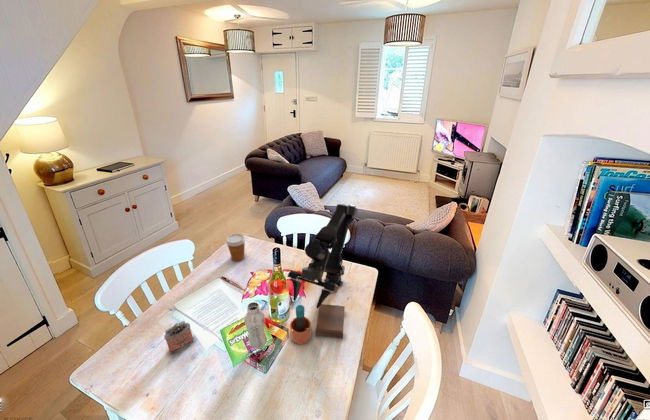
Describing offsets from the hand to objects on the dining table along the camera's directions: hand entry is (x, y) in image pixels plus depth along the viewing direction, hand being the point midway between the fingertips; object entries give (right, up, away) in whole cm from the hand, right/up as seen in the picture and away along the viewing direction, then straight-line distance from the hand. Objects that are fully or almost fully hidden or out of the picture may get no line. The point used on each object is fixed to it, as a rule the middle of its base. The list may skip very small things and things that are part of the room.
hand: (305, 304), depth 98 cm
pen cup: (-2, -12, +2) cm, 12 cm away
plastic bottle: (-16, -14, -4) cm, 22 cm away
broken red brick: (-43, -13, -3) cm, 45 cm away
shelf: (+9, -10, +6) cm, 15 cm away
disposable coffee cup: (-39, +9, +44) cm, 59 cm away
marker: (-2, -11, +1) cm, 12 cm away
